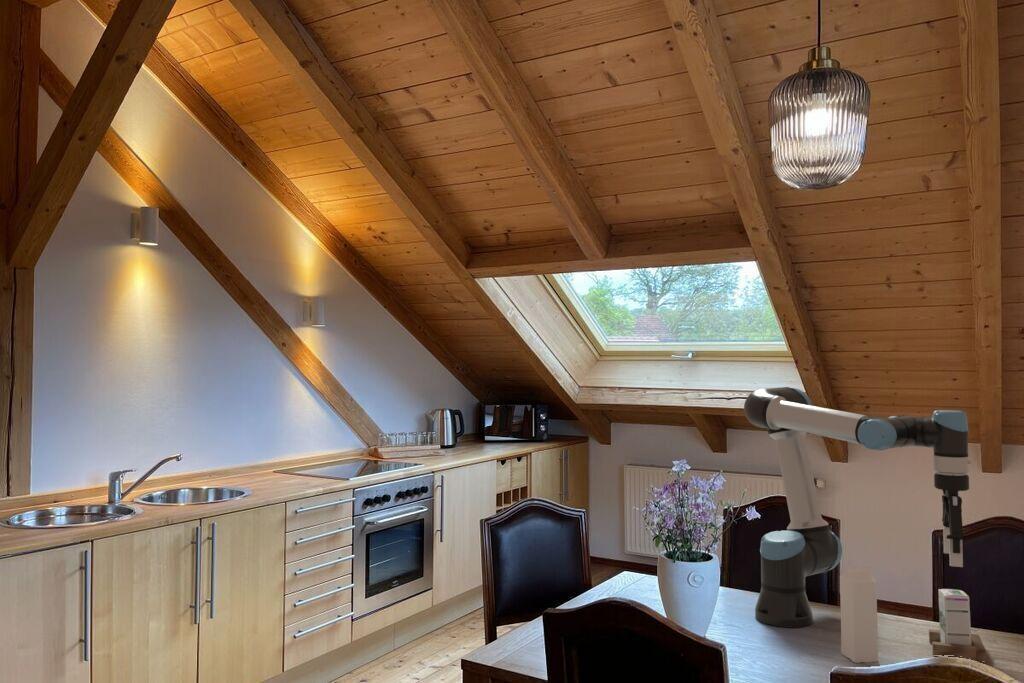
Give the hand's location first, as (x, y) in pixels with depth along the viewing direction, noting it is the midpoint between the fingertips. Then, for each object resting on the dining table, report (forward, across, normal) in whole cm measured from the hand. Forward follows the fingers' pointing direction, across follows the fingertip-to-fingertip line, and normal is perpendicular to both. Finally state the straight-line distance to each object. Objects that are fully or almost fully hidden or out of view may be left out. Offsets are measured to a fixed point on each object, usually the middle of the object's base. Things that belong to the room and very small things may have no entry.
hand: (952, 559), depth 193 cm
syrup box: (+22, 0, 0) cm, 23 cm away
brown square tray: (+22, 0, +1) cm, 22 cm away
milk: (+23, -14, +22) cm, 34 cm away
